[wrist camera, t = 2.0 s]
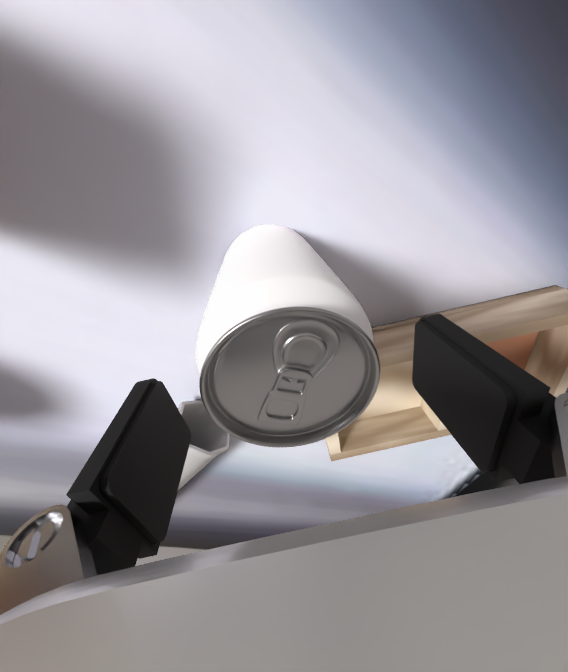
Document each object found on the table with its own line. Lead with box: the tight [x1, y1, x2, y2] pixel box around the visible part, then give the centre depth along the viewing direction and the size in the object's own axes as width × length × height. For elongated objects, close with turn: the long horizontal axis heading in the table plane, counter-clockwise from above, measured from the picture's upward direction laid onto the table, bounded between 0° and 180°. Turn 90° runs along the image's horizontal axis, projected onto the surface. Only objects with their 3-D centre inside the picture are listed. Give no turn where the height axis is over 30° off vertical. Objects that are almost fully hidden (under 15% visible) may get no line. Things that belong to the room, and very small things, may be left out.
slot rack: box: [325, 285, 568, 461], centre depth 23 cm, size 11×21×4 cm, turn 102°
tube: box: [178, 400, 230, 490], centre depth 26 cm, size 5×5×25 cm
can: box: [196, 225, 380, 447], centre depth 13 cm, size 6×6×12 cm
